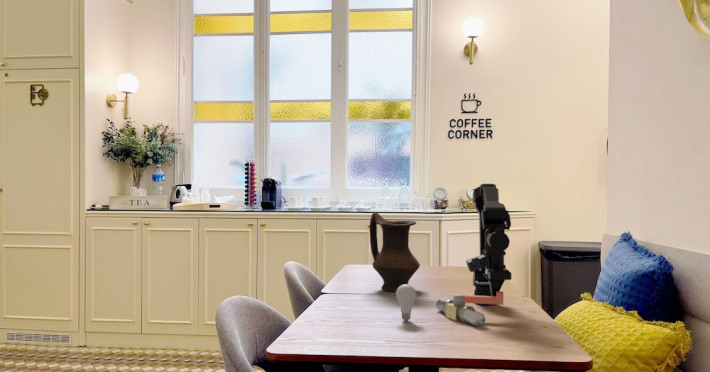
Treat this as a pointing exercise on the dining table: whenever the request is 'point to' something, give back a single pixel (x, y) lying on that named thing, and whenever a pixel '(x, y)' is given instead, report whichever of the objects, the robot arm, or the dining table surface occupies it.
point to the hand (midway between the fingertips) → (494, 298)
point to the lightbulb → (406, 300)
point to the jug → (392, 252)
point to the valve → (460, 312)
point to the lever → (478, 299)
